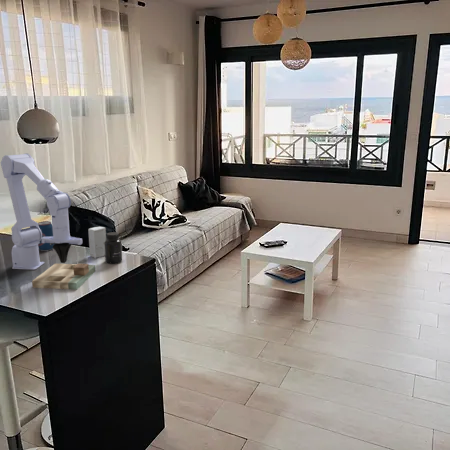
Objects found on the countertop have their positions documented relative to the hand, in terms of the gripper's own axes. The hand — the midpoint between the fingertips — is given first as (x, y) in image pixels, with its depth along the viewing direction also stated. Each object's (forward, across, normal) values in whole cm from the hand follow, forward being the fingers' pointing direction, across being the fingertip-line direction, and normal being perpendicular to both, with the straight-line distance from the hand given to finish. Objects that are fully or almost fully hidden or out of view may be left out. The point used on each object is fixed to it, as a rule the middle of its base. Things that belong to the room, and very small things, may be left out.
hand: (63, 262), depth 165 cm
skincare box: (+6, +4, +26) cm, 27 cm away
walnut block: (+3, +7, -2) cm, 8 cm away
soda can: (+7, -22, +32) cm, 39 cm away
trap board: (+6, +1, -2) cm, 6 cm away
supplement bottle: (+6, +12, +19) cm, 23 cm away
